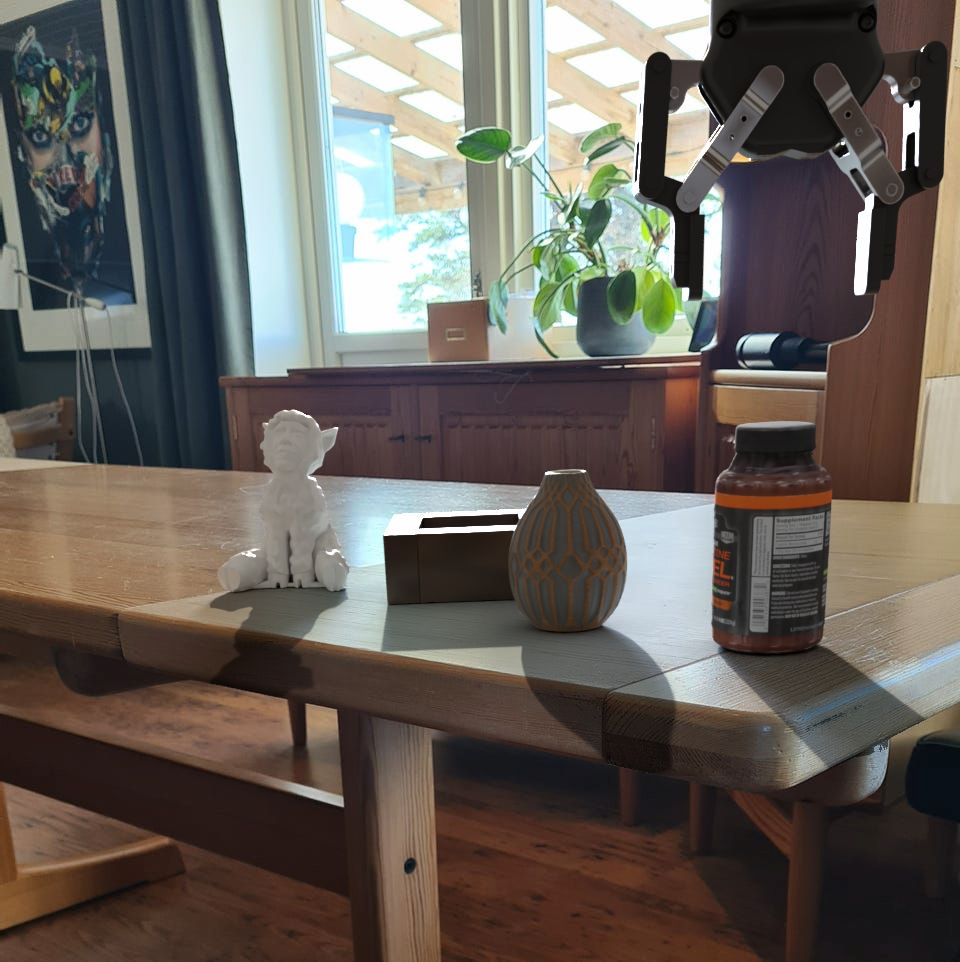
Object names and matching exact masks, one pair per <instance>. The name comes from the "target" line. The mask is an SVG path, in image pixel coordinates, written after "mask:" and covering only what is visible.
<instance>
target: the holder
mask: <svg viewBox="0 0 960 962" xmlns="http://www.w3.org/2000/svg"><path fill="white" fill-rule="evenodd" d="M525 510H526V508H524V509H523V508H522V509H499V510H497V509H496V510H477V511H452V512H450V511H449V512H429V513H428V512H426V513H402V514H394V515H393V516H392V517H391V520H390V521H389V524H388V525H387V528H386V530H385V531H384V533H383V535H382V542H383V543H382V544H383V558H384V570H385V571H384V573H385V587H386V603H387V605H407V604H408V603H411V604H430V603H429V602H436V603H457V602H459V603H460V602H481V601H482V602H483V601H485V602H486V601H505V600H506V601H508V600H515V599H514V596H513V593H512V590H511V586H510V580H509V569H508V557H509V549H510V543H511V539H512V535H513V532H514V529H515V527H516V524H517V523H518V521H519V519H520V517H521V516H522V514H523V513H524V511H525ZM408 605H409V604H408Z"/></svg>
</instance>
